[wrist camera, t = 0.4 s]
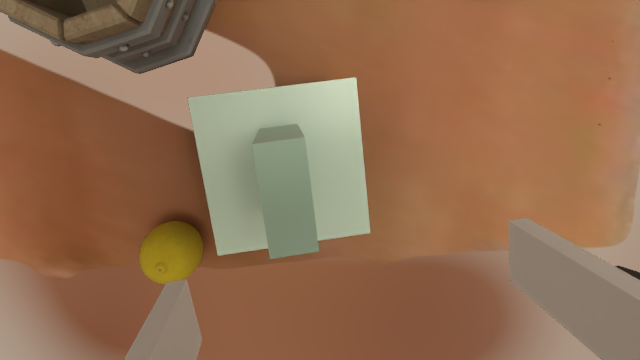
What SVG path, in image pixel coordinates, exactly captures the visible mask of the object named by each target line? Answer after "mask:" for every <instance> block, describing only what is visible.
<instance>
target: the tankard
mask: <svg viewBox="0 0 640 360" xmlns="http://www.w3.org/2000/svg"><path fill="white" fill-rule="evenodd" d="M214 6H215V1H214V0H0V12H2V13H4V14H6V15H8V17H9V19H10V21H11V22H14V23H16V24H18V25H20V26H22V27H24V28H26V29H28V30H31V31H32V32H35V33H37V34H39V35H41V36H43V37H45V38H47V39H50V41H51V43H52V44H54V45H55V46H61V45H62V46H64V47H66V48H68V49H70V50H72V51H75V52H77V53H79V54H81V55H83V56H88V57H94V58H99V57H103V58H105V59H107V60H109V61H112V62H114V63H116V64H118V65H120V66H122V67H124V68H126V69H128V70H130V71H132V72H134V73H139V74H141V73H144V72H147V71H150V70H153V69H156V68H159V67H162V66H165V65H168V64H171V63H174V62H177V61H180V60H183V59H186V58H189V57H192V56H193V55H194V53H195V51H196V48H197V46H198V43H199V41H200V39H201V37H202V34H203V32H204V29H205V27H206V25H207V22H208V20H209V18H210V15H211V13H212V11H213V8H214Z"/></svg>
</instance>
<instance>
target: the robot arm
mask: <svg viewBox="0 0 640 360" xmlns="http://www.w3.org/2000/svg"><path fill="white" fill-rule="evenodd" d="M509 260H510V281H511V282H512V283H513V284H514V285H515V286H517V287H518V288H519V289H520V290H521V291H522V292H524V293H525V294H526V295H527V296H528V297H529V298H531V299H532V300H533V301H534V302H535V303H537V304H538V305H539V306H540V307H541V308H542V309H543V310H544V311H546V312H547V313H548V314H549V315H550V316H551V317H553V318H554V319H555V320H556V321H557V322H558V323H560V324H561V325H562V326H563V327H564V328H565V329H567V330H568V331H569V332H570V333H571V334H572V335H573V336H575V337H576V338H577V339H578V340H579V341H580V342H582V343H583V344H584V345H585V346H586V347H587V348H589V349H590V350H591V351H592V352H593V353H594V354H596V355H597V356H598V357H599V358H600V359H601V360H640V273H639V272H637V271H633V270H630V269H627V268H624V267H621V266H613V265H611V264H609V263H608V262H606V261H604V260H602V259H601V258H598V257H597V256H595V255H593V254H591V253H590V252H588V251H586V250H584V249H582V248H581V247H579V246H577V245H575V244H573V243H571V242H570V241H568V240H566V239H564V238H562V237H561V236H559V235H557V234H555V233H553V232H551V231H550V230H548V229H546V228H544V227H542V226H541V225H539V224H537V223H535V222H533V221H531V220H530V219H528V218H522V219H517V220H511V221H509ZM201 342H202V337H201V333H200V329H199V325H198V321H197V318H196V314H195V310H194V306H193V302H192V298H191V295H190V291H189V287H188V283H187V280H186V279H185V280H179V281H174V282H168V283H166V285H165V287H164V288H163V290H162V292H161V294H160V296H159V298H158V299H157V301H156V303H155V305H154V307H153V308H152V310H151V312H150V314H149V316H148V317H147V319H146V321H145V323H144V325H143V326H142V328H141V330H140V332H139V334H138V335H137V337H136V339H135V341H134V342H133V344H132V346H131V348H130V350H129V352H128V353H127V355H126V357H125V359H124V360H196V359H197V356H198V352H199V349H200V345H201Z"/></svg>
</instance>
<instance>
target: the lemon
mask: <svg viewBox="0 0 640 360" xmlns="http://www.w3.org/2000/svg"><path fill="white" fill-rule="evenodd" d="M202 256H203V241H202V238H201V236H200V234H199V232H198V231H197V230H196V229H195V228H194V227H193V226H191V225H190V224H188V223H185V222H181V221H169V222H166V223H163V224H160V225H159V226H157V227H156V228H154V229H153V230H152V231H151V232H150V233H149V234H148V235H147V236H146V238H145V239H144V241H143V243H142V246H141V249H140V255H139V261H140V266H141V268H142V271H143V272H144V274H145V275H146V276H147V277H148V278H150V279H151V280H152V281H154V282H157V283H160V284H166V283H168V282H174V281H179V280H184V279H186V278H187V277H188V276H190V275H191V274H192V273H193V272H194V271H195V269H196V268H197V267H198V265H199V264H200V261H201V259H202Z"/></svg>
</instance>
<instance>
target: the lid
mask: <svg viewBox="0 0 640 360" xmlns="http://www.w3.org/2000/svg"><path fill="white" fill-rule="evenodd" d="M187 99H188V104H189V109H190V114H191V119H192V125H193V130H194V135H195V140H196V145H197V150H198V156H199V161H200V166H201V171H202V176H203V182H204V187H205V192H206V197H207V202H208V207H209V213H210V218H211V223H212V228H213V233H214V239H215V244H216V249H217V254H218V256H219V255H226V254H233V253H239V252H246V251H253V250H259V249H266V248H268V249H269V256H270V259H273V258H280V257H286V256H293V255H300V254H306V253H313V252H319V245H318V241H320V240H326V239H333V238H340V237H346V236H353V235H360V234H366V233H370V223H369V212H368V201H367V190H366V179H365V169H364V158H363V147H362V136H361V125H360V114H359V103H358V92H357V81H356V77H355V78H346V79H338V80H330V81H321V82H313V83H304V84H296V85H288V86H279V87H271V88H263V89H255V90H247V91H238V92H230V93H221V94H213V95H204V96H196V97H188V98H187Z"/></svg>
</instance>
